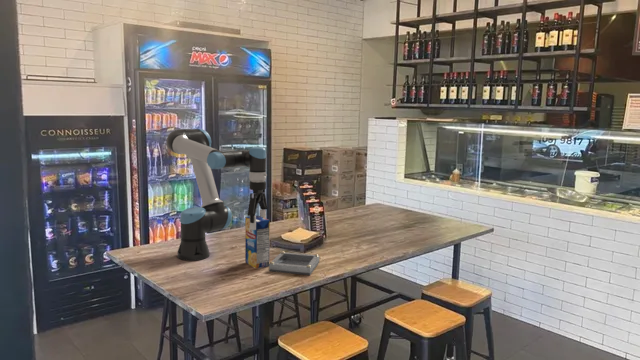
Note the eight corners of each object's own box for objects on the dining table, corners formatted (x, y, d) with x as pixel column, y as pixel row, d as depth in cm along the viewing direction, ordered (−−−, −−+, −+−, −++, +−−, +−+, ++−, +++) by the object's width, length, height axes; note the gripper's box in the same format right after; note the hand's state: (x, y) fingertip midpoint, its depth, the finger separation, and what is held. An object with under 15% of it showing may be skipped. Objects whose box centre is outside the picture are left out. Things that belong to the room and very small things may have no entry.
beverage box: (256, 268, 223) (256, 221, 220) (245, 262, 232) (245, 217, 229) (269, 266, 227) (269, 220, 224) (258, 260, 236) (258, 215, 233)
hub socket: (269, 271, 220) (269, 262, 220) (281, 258, 239) (281, 250, 238) (310, 275, 216) (310, 266, 216) (319, 262, 235) (319, 254, 234)
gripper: (256, 185, 211) (256, 233, 214) (273, 177, 235) (273, 220, 238) (239, 184, 213) (240, 232, 216) (259, 177, 237) (259, 219, 240)
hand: (257, 226), depth 227 cm, fingers open, 13 cm apart
